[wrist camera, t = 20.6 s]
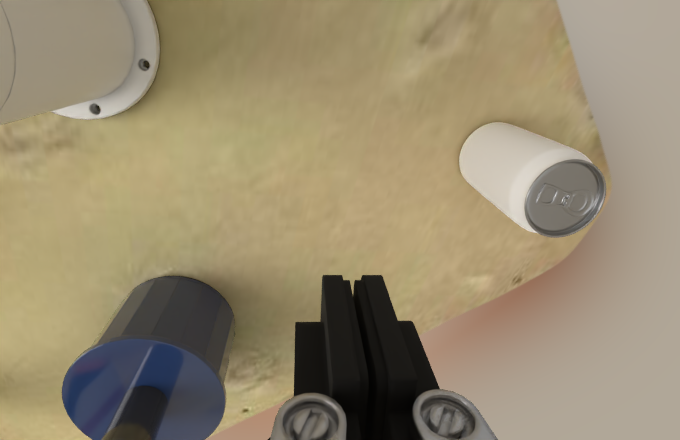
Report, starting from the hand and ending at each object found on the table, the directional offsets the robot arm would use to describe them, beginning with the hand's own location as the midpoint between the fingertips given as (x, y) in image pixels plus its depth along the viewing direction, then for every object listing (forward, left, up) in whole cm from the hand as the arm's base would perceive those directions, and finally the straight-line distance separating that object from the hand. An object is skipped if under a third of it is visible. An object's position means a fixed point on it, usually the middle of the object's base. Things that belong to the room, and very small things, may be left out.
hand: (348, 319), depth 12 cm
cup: (-6, -24, -27) cm, 37 cm away
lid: (-6, -24, -18) cm, 30 cm away
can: (+16, +4, -27) cm, 32 cm away
